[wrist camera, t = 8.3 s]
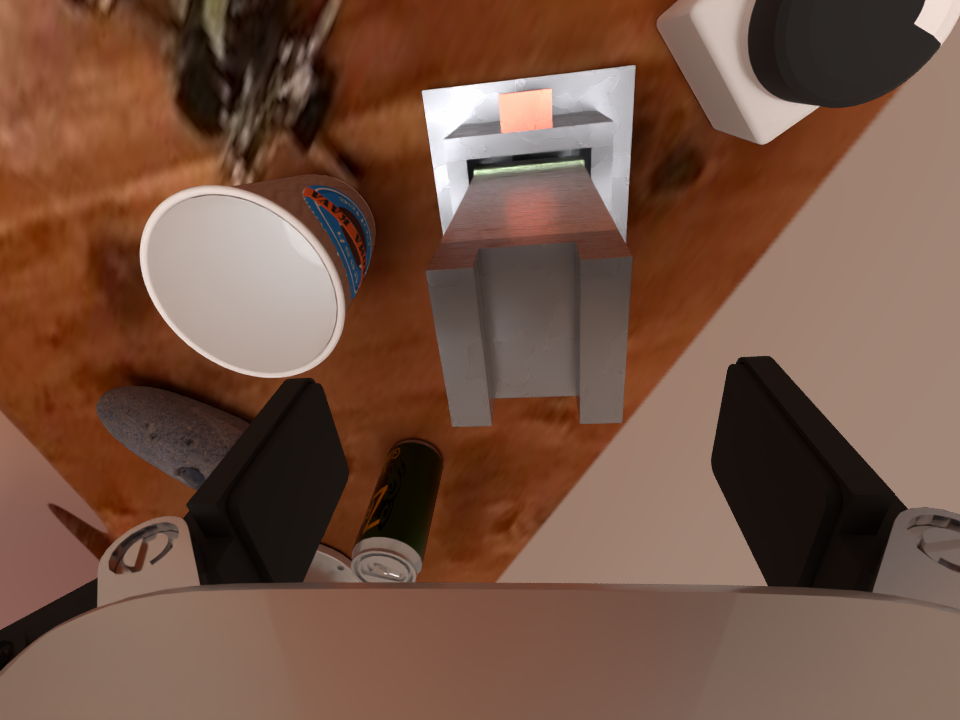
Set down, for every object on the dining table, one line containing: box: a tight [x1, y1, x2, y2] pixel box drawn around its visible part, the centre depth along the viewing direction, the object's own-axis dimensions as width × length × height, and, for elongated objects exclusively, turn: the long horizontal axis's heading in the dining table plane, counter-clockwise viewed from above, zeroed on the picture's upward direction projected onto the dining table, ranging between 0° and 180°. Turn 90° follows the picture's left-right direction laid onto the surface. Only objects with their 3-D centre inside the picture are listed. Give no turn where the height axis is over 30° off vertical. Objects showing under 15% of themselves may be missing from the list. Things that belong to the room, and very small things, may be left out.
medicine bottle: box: [656, 0, 960, 145], centre depth 21 cm, size 7×7×12 cm
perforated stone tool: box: [96, 386, 250, 490], centre depth 42 cm, size 15×5×7 cm, turn 58°
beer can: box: [351, 439, 443, 582], centre depth 40 cm, size 5×5×12 cm
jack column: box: [426, 155, 633, 427], centre depth 19 cm, size 5×5×15 cm
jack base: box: [422, 65, 636, 243], centre depth 28 cm, size 12×12×8 cm
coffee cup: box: [140, 174, 376, 378], centre depth 29 cm, size 10×10×12 cm
